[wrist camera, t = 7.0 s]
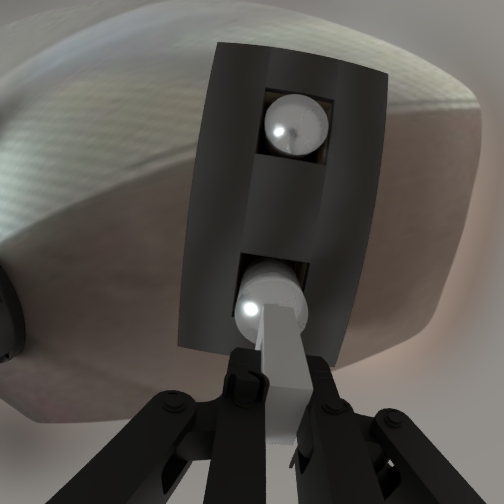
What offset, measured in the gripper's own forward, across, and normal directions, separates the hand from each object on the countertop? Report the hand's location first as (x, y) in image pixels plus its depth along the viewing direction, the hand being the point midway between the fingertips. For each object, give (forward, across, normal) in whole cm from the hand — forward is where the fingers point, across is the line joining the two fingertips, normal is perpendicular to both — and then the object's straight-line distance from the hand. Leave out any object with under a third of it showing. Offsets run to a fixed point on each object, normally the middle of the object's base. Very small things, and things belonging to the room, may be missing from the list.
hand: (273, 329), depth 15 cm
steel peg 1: (+11, 0, +11) cm, 16 cm away
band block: (+11, 0, +6) cm, 13 cm away
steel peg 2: (+7, 0, 0) cm, 7 cm away
